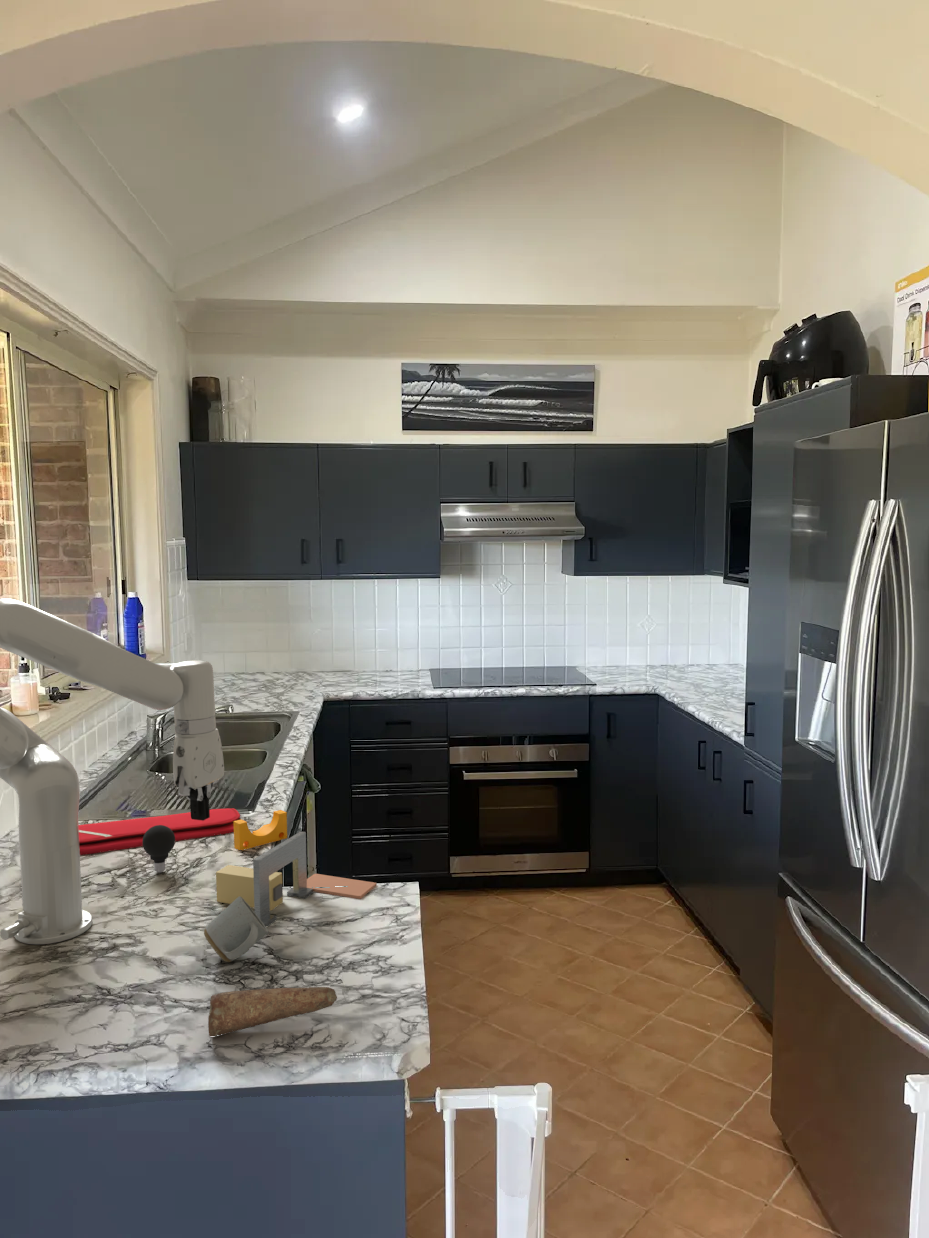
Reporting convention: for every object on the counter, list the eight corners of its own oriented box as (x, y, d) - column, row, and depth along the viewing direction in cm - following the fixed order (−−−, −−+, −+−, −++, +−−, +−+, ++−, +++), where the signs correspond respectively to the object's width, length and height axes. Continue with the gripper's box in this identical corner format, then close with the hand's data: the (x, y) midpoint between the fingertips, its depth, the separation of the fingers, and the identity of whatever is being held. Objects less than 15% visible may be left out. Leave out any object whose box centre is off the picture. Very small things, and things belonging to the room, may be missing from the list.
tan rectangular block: (273, 912, 165) (272, 880, 165) (216, 902, 170) (215, 872, 169) (285, 903, 169) (284, 873, 168) (229, 894, 173) (228, 864, 173)
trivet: (360, 899, 171) (360, 896, 170) (296, 889, 175) (296, 886, 175) (376, 885, 177) (376, 882, 177) (314, 876, 182) (314, 873, 182)
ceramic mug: (227, 963, 148) (200, 926, 149) (269, 930, 151) (242, 893, 152) (225, 970, 138) (196, 930, 139) (269, 934, 141) (240, 895, 142)
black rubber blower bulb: (165, 864, 189) (163, 818, 188) (182, 872, 184) (180, 825, 184) (137, 873, 184) (135, 826, 183) (154, 881, 180) (152, 833, 179)
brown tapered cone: (206, 1025, 127) (205, 984, 126) (331, 1003, 133) (331, 964, 132) (209, 1049, 121) (207, 1006, 120) (340, 1025, 127) (339, 984, 126)
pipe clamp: (277, 835, 208) (276, 808, 207) (287, 839, 204) (286, 812, 204) (230, 847, 200) (229, 819, 199) (240, 852, 196) (239, 823, 196)
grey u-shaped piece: (267, 926, 159) (265, 861, 158) (248, 923, 160) (246, 858, 159) (313, 892, 174) (312, 833, 172) (295, 890, 175) (294, 830, 174)
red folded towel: (247, 833, 210) (246, 818, 209) (55, 862, 192) (54, 845, 191) (233, 815, 224) (232, 800, 223) (53, 840, 206) (53, 824, 205)
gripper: (186, 735, 162) (191, 833, 164) (235, 718, 176) (239, 808, 178) (152, 733, 165) (158, 829, 167) (203, 716, 179) (208, 805, 181)
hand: (200, 818), depth 172 cm, fingers closed
